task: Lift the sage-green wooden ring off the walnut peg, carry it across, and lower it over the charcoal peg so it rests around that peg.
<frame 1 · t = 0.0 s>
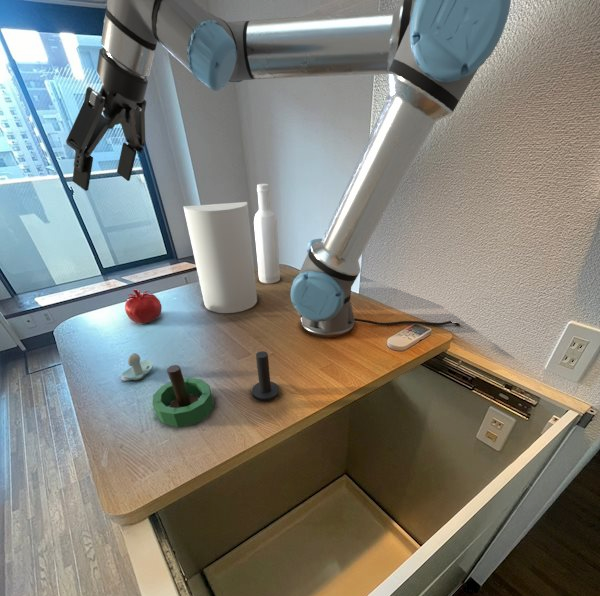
hand: (103, 181, 69), 36 cm above the table, tool tilted 35°, fingers open, 13 cm apart
ring: (186, 407, 68), on the table
pacifier: (137, 375, 77), on the table
cylinder: (231, 301, 108), on the table
walnut peg: (186, 407, 68), on the table
bottle: (269, 280, 122), on the table
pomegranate: (147, 319, 99), on the table
charcoal peg: (265, 392, 71), on the table
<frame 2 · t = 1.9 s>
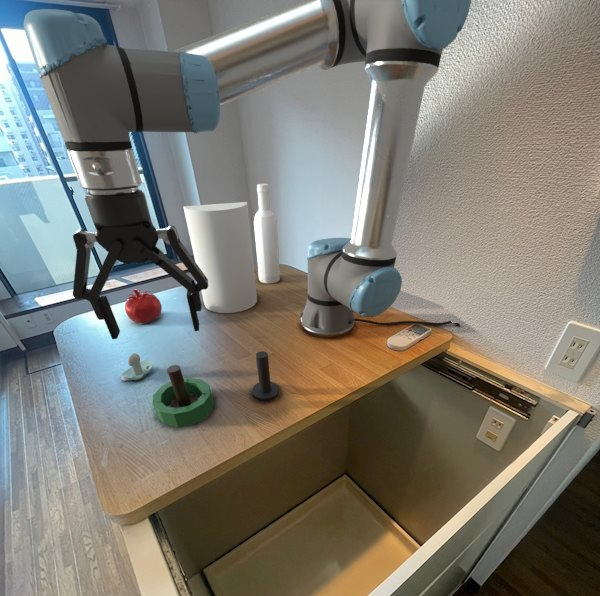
hand: (157, 331, 58), 17 cm above the table, tool pointing down, fingers open, 13 cm apart
nothing on the table moved.
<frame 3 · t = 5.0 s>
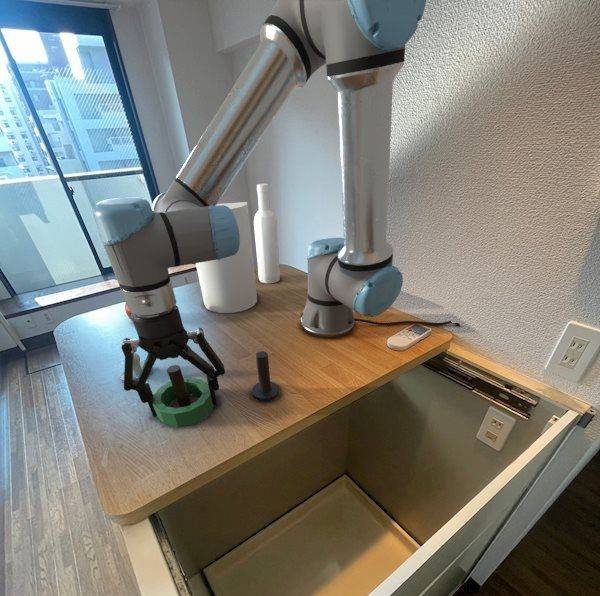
hand: (185, 406, 68), 0 cm above the table, tool pointing down, fingers closed on ring, 11 cm apart
ring: (186, 407, 68), on the table, touching gripper
everything else where it was.
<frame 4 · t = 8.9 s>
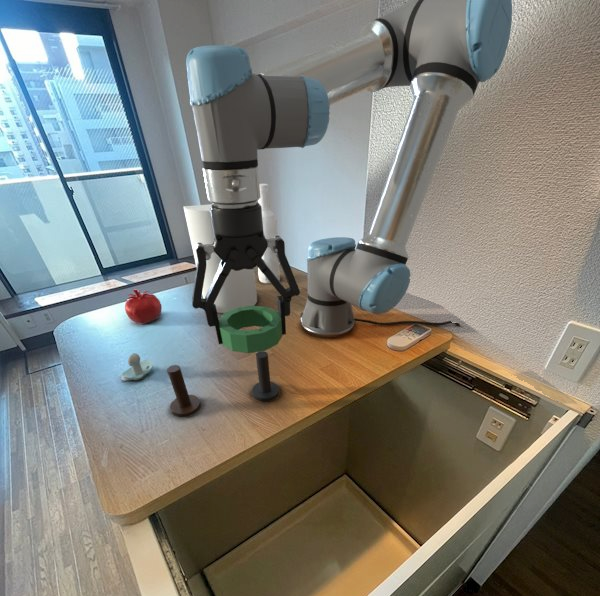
hand: (251, 335, 62), 14 cm above the table, tool pointing down, fingers closed on ring, 11 cm apart
ring: (252, 336, 62), point 14 cm above the table, touching gripper
everything else where it was.
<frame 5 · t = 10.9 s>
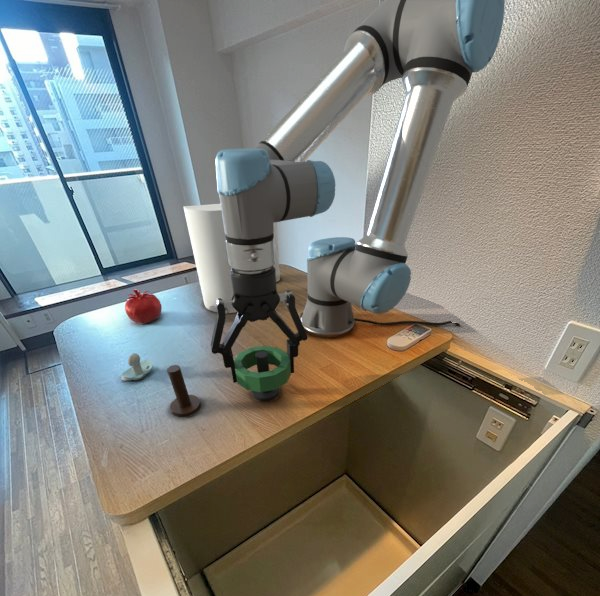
hand: (263, 374, 68), 5 cm above the table, tool pointing down, fingers closed on ring, 11 cm apart
ring: (263, 374, 68), point 5 cm above the table, touching gripper
everything else where it was.
when the fingers open (0 cm above the table, at t = 12.8 s): ring stays where it is, on the table.
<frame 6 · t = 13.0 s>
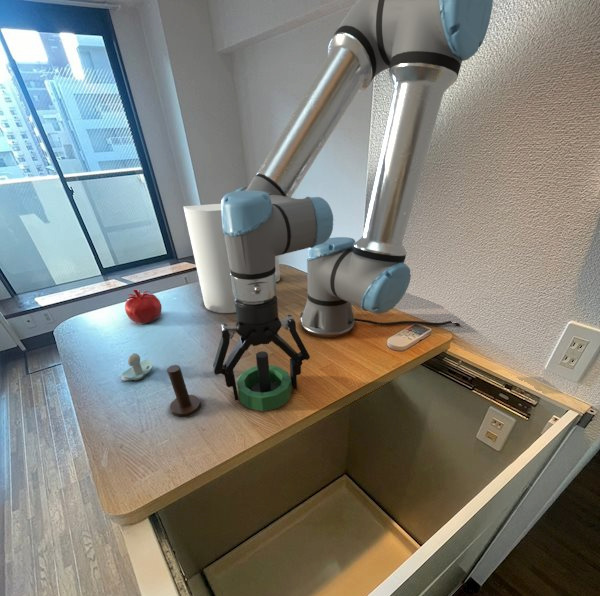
hand: (265, 391, 71), 0 cm above the table, tool pointing down, fingers open, 12 cm apart
ring: (265, 393, 71), on the table
everything else where it was.
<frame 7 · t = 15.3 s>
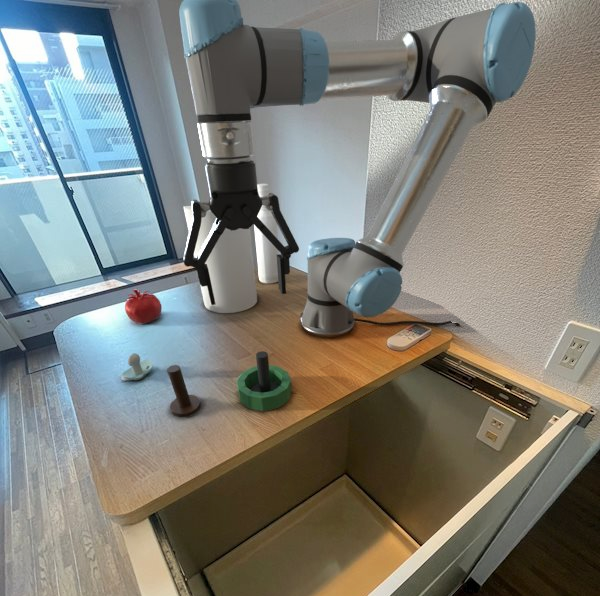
hand: (248, 296, 63), 20 cm above the table, tool pointing down, fingers open, 13 cm apart
nothing on the table moved.
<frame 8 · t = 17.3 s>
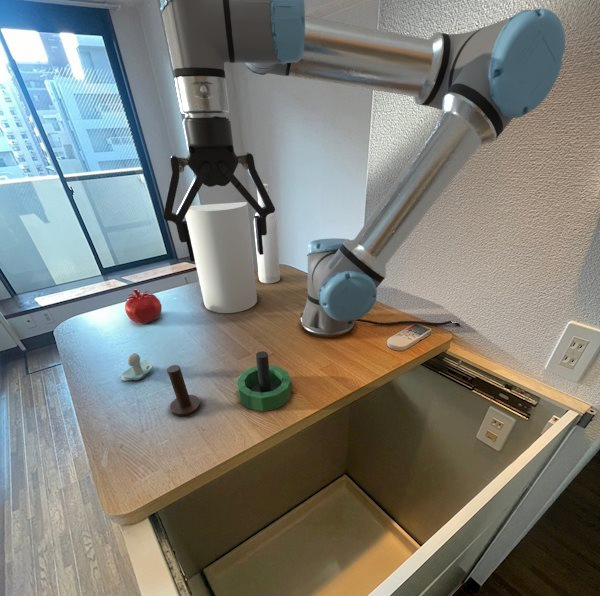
hand: (227, 256, 66), 25 cm above the table, tool pointing down, fingers open, 13 cm apart
nothing on the table moved.
at the end: ring moved 16.9 cm from its start; ring 0.2 cm from the charcoal peg (horizontally); ring on the table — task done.
